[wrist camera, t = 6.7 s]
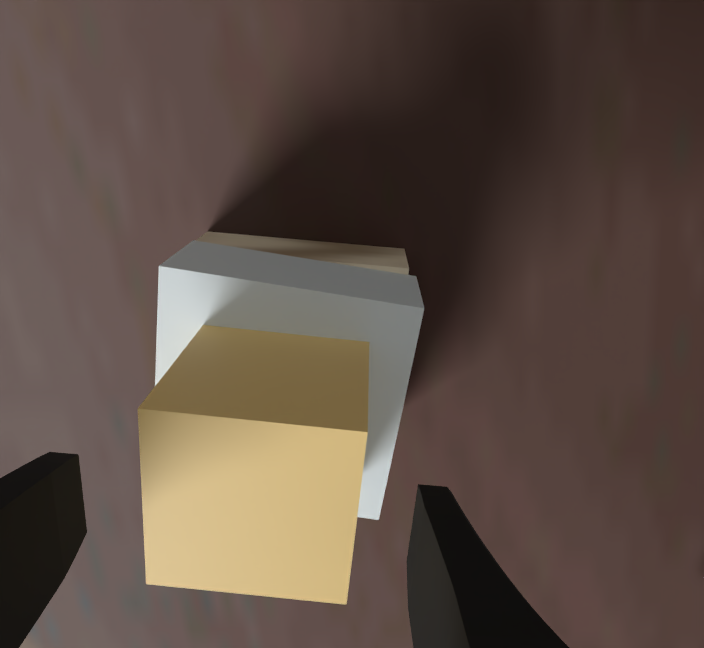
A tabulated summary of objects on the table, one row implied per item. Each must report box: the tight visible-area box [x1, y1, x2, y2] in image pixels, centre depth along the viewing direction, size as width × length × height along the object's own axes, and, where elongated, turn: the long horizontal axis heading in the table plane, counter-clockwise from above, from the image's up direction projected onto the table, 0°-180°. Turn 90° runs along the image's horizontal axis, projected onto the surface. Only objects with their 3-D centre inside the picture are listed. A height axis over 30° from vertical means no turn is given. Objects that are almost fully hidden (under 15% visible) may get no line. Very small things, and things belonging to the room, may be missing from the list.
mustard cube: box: [138, 325, 369, 604], centre depth 14 cm, size 4×4×4 cm
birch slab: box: [196, 232, 409, 275], centre depth 20 cm, size 7×7×3 cm
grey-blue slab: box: [155, 240, 424, 520], centre depth 17 cm, size 7×7×3 cm
